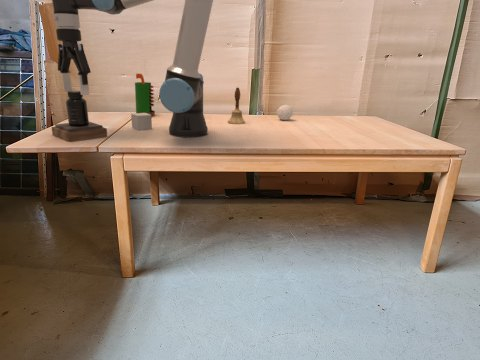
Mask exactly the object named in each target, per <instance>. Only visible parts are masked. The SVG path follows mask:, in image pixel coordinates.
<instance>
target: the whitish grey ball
mask: <svg viewBox="0 0 480 360" xmlns="http://www.w3.org/2000/svg"><path fill="white" fill-rule="evenodd" d="M293 110H294V109H293V107H292V106H291V105H288V104H283V105H282V106H281V105H280V106H279V107H278V109H277V110H276V115H277V118H279V120H281V121H288V120H290V119H291V118H292V116H293V115H294V114H293V113H294V112H293Z"/></svg>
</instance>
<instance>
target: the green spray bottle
mask: <svg viewBox="0 0 480 360" xmlns="http://www.w3.org/2000/svg"><path fill="white" fill-rule="evenodd" d="M135 77H136V78H135V79H140V80H141V81H140V82H139V81H138V82H134V91H135V114H136V113H147V114H150V115H151V118H153V117H155V116H156V113H155V112H156V111H155V110H153V109H152V107H154V106H155V104H154V102H155V100H154V98H155V97H154V96H155V93H153V92H154V91H155V90H154V85H152V82H147V81H146V82H145V79H144V76H143V74H142V73H136V74H135Z"/></svg>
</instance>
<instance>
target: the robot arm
mask: <svg viewBox="0 0 480 360" xmlns="http://www.w3.org/2000/svg"><path fill="white" fill-rule="evenodd" d="M51 1H52V8H53V17H52V18H53V20H54V22H55V23H54V24H55V27H56V30H55V31H56V38H57V40H58V41H60V42H62V43H58V55H57V56H58V57H57V71H58V72H60V74H61V80H62V87H63V92H64V93H68V91H73V88H72V87H73V86H72V80H71V74H70V73H71V71H70V66H71V61H73V62H74V65H75V67H76V68H77V71H78V73H77V75H78V83H79V91H80V92H81V95H83V96H85V95H90V87H89V86H90V85H89V77H88V75H89V74H90V73H91V68H90V65H89V62H88V59H87V56H86V54H85V49H84V44H83V43H78V42H82V33H81V30H80V28H81V24H80V23H81V22H80V15H79V10H95V11H99V12H103V13H107V14H109V15H113V16H114V15H119V14H121V13H123V11H124V10H128V9H130V8H134V7H137V6H141V5H143V4H146V3H147V4H148V3H149V2H152V1H154V0H51ZM213 3H214V0H184V4H183V10H182V16H181V20H180V25H179V30H178V35H177V41H176V47H175V51H174V57H173V62H172V65H170V66H168V67H167V68H166V74H165V78H164V81H163V82H162V84H161V86H160V87H159V92H158V93H159V95H158V96H159V101H160V102H161V104H162V105H163V107H164V108H165V109H166V110H168V111H169V112H172V116H171V119H170V124H169V127H168V134H170V135H171V136H175V137H183V138H192V137H193V138H194V137H203V136H206V135H208V131H209V130H208V129H209V128H208V126H207V123H206V119H205V116H204V84H205V83H204V82H205V81H204V76H203V75H202V74H201V73H199V67H200V63H201V58H202V54H203V48H204V44H205V39H206V35H207V30H208V26H209V21H210V17H211V11H212V7H213Z"/></svg>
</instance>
